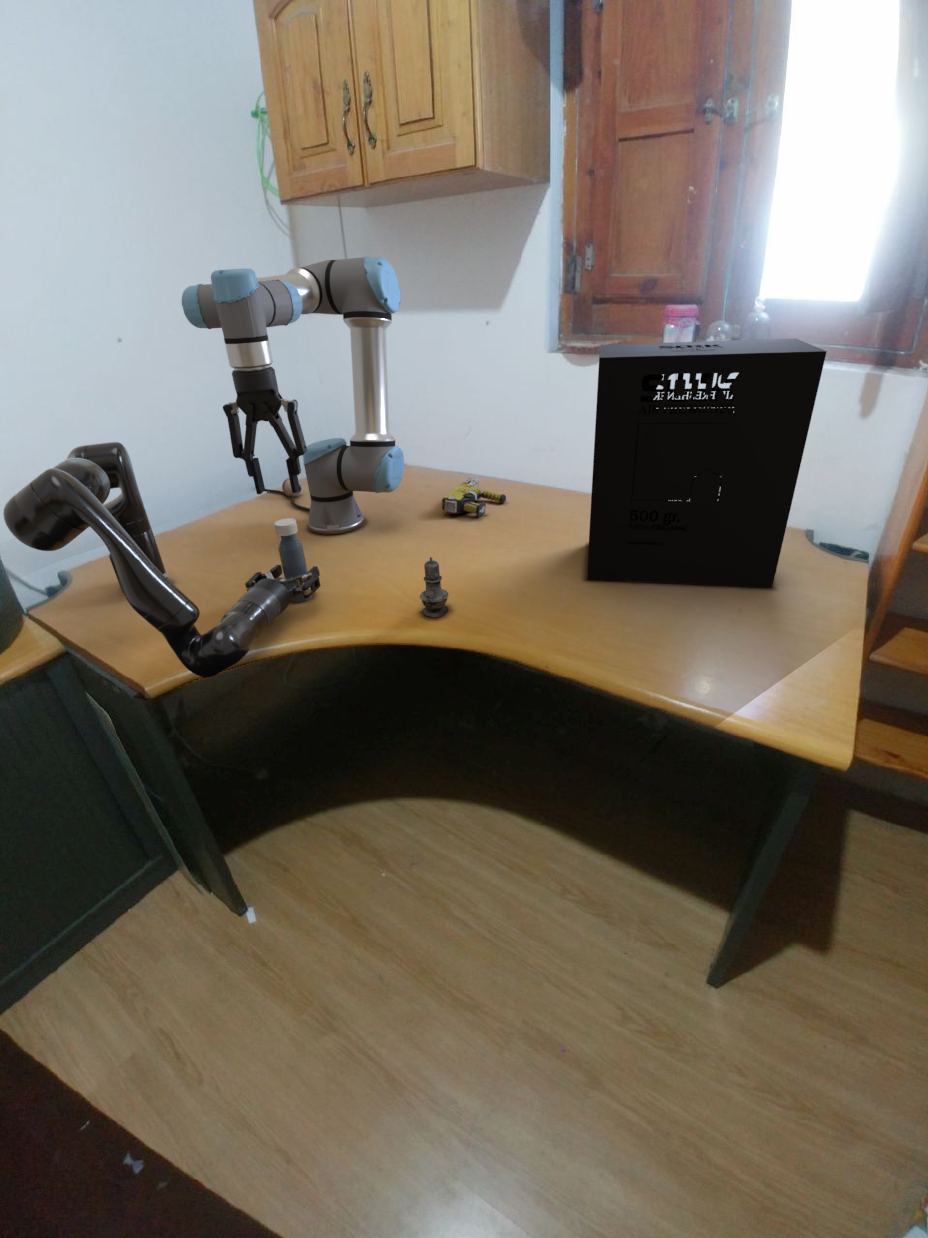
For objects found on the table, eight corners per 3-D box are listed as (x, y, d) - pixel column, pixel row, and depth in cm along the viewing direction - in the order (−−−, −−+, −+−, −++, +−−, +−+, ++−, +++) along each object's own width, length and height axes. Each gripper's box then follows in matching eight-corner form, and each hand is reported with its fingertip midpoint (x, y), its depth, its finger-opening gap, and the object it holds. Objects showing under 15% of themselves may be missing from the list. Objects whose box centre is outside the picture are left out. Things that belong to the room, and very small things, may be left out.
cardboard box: (752, 548, 142) (795, 338, 119) (772, 587, 124) (826, 351, 102) (589, 543, 149) (600, 344, 127) (586, 579, 132) (599, 357, 110)
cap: (289, 537, 122) (287, 526, 121) (272, 535, 124) (269, 524, 123) (302, 529, 126) (300, 519, 124) (285, 527, 127) (282, 517, 126)
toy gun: (514, 482, 184) (468, 475, 188) (491, 505, 164) (440, 497, 168) (513, 497, 186) (467, 490, 190) (490, 522, 166) (439, 513, 170)
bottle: (303, 603, 129) (288, 529, 121) (284, 600, 131) (267, 527, 123) (317, 593, 133) (302, 520, 125) (298, 590, 135) (282, 518, 127)
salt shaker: (446, 618, 120) (442, 563, 114) (417, 616, 122) (412, 562, 116) (452, 604, 125) (448, 551, 119) (425, 602, 126) (420, 550, 120)
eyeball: (294, 500, 190) (290, 481, 187) (280, 497, 193) (276, 479, 190) (307, 494, 194) (304, 476, 191) (294, 492, 197) (290, 474, 194)
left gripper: (291, 589, 113) (326, 554, 127) (224, 586, 116) (264, 552, 130) (299, 624, 117) (331, 586, 131) (233, 619, 120) (271, 583, 134)
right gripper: (310, 362, 111) (330, 483, 123) (208, 367, 113) (238, 487, 124) (299, 367, 105) (321, 495, 116) (191, 373, 106) (224, 499, 118)
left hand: (298, 569), depth 130 cm, fingers open, 8 cm apart
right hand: (278, 491), depth 120 cm, fingers open, 6 cm apart
